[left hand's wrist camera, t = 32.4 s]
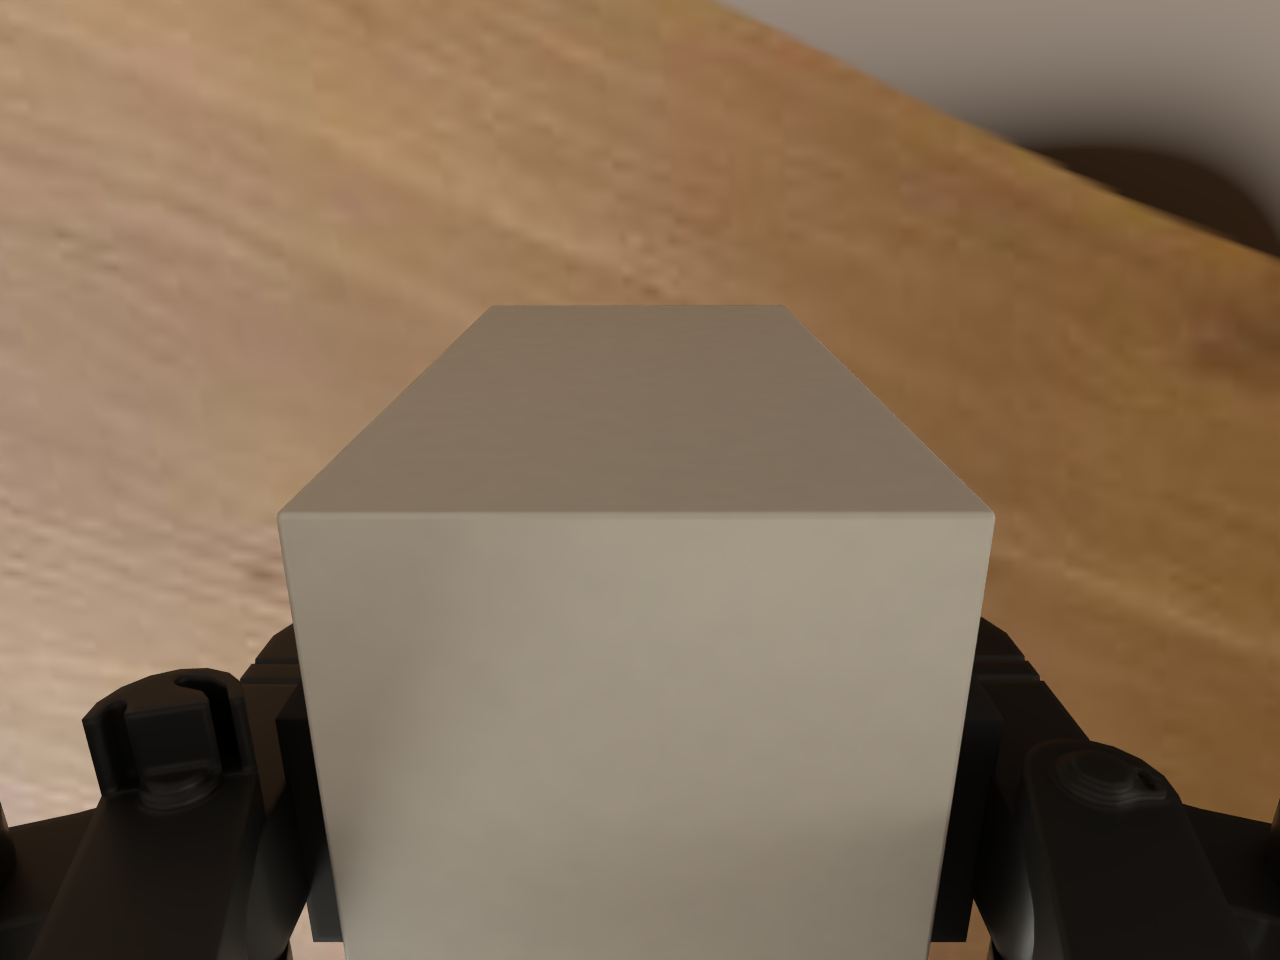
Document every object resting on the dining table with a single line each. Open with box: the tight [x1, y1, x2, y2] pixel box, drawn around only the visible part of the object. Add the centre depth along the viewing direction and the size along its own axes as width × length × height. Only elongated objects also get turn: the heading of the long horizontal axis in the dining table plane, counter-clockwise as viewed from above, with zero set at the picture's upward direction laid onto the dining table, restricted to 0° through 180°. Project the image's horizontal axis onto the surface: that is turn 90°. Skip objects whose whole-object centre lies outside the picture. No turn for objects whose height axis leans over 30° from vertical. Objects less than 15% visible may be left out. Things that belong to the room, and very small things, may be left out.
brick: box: [277, 306, 995, 960], centre depth 12 cm, size 5×8×10 cm
